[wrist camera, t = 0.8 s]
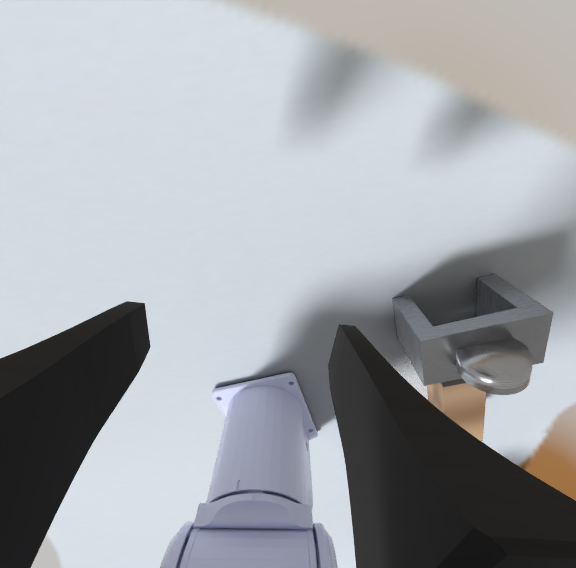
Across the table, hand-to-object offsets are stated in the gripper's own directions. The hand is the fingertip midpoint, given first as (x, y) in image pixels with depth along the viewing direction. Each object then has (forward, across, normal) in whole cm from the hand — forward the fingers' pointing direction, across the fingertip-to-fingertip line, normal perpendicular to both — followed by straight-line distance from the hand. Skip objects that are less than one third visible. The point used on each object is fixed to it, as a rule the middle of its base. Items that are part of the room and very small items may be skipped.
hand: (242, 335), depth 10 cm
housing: (+10, -14, +3) cm, 18 cm away
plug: (+10, -18, +10) cm, 23 cm away
